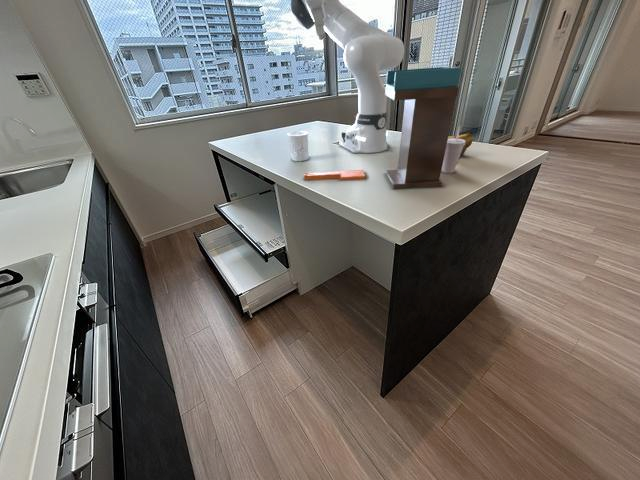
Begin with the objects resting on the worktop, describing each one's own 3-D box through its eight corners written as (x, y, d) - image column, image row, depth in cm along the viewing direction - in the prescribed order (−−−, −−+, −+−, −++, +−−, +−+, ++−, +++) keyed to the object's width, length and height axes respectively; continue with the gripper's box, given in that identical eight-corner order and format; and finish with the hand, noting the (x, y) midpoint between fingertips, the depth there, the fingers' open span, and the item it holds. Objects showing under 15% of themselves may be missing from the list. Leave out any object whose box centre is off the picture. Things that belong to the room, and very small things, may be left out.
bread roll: (443, 161, 94) (447, 138, 89) (425, 155, 102) (429, 133, 97) (471, 156, 97) (477, 133, 93) (452, 149, 105) (457, 128, 100)
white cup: (305, 162, 103) (303, 135, 98) (287, 161, 106) (284, 135, 100) (312, 156, 110) (310, 131, 104) (295, 155, 112) (292, 131, 106)
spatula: (304, 181, 86) (304, 177, 86) (305, 175, 91) (305, 171, 90) (365, 178, 85) (365, 174, 84) (363, 172, 90) (363, 168, 89)
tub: (394, 90, 64) (395, 72, 61) (385, 87, 73) (387, 71, 70) (457, 86, 63) (461, 67, 60) (441, 83, 72) (443, 66, 70)
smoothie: (460, 174, 83) (472, 127, 75) (439, 174, 84) (448, 128, 77) (456, 167, 88) (466, 123, 80) (435, 167, 90) (444, 123, 82)
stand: (386, 190, 77) (395, 91, 63) (379, 174, 88) (385, 87, 73) (441, 187, 76) (463, 86, 62) (427, 172, 87) (443, 82, 72)
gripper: (301, -21, 69) (312, 44, 76) (290, -51, 51) (305, 35, 59) (325, -28, 68) (333, 38, 75) (321, -61, 51) (333, 28, 58)
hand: (321, 37), depth 67 cm, fingers open, 8 cm apart
